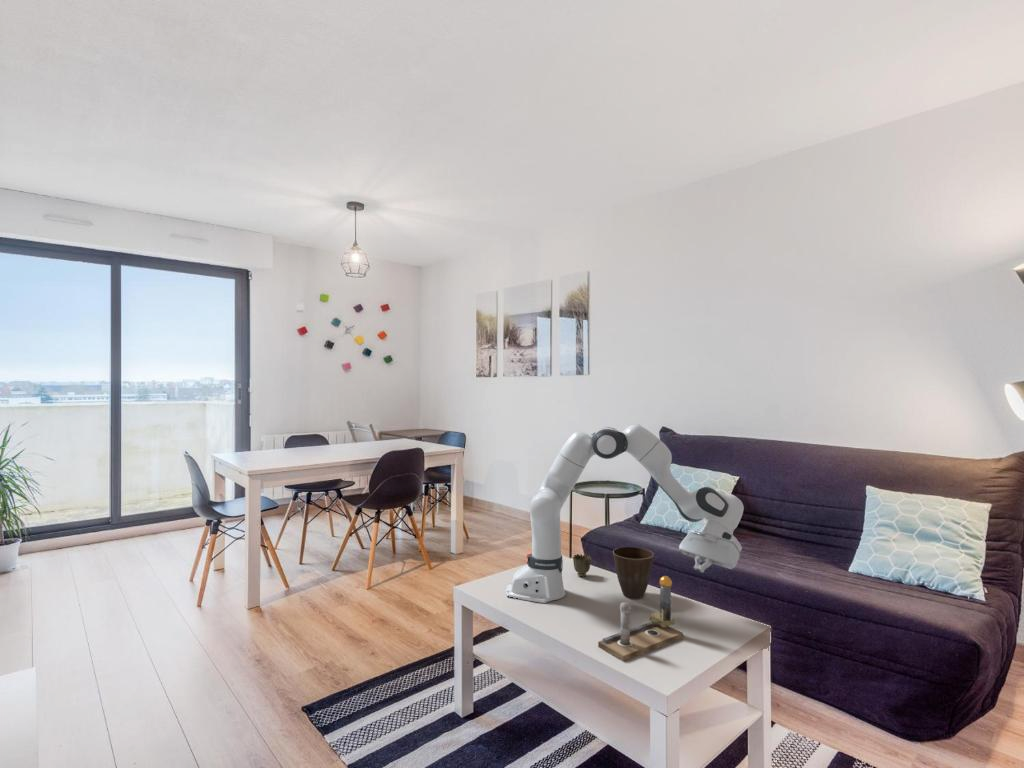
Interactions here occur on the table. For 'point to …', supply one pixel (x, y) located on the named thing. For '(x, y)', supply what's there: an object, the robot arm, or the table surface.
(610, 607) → the table surface
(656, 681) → the table surface
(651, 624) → the wooden peg board
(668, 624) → the sliding leg
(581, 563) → the cup
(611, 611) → the table surface
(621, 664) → the table surface
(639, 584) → the plant pot
